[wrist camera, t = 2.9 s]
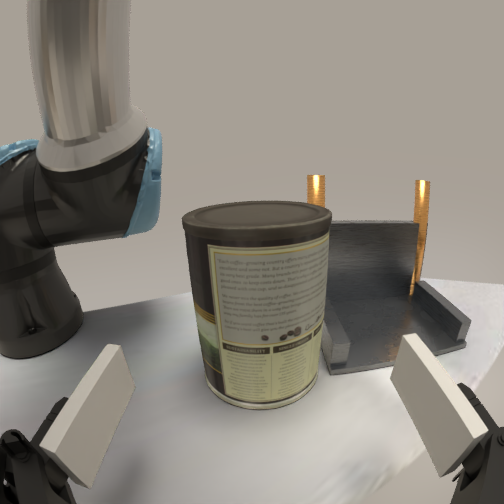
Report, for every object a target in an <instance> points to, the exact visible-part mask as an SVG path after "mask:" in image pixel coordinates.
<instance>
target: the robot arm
mask: <svg viewBox="0 0 504 504" xmlns="http://www.w3.org/2000/svg"><path fill="white" fill-rule="evenodd" d="M130 7H131V0H27V22H28V23H27V24H28V39H29V50H30V59H31V67H32V73H33V79H34V85H35V91H36V96H37V101H38V105H39V110H40V114H41V118H42V122H43V126H44V130H45V131H44V133H43V135H42V137H41V139H40V141H39V140H34V139H31V140H22V141H17V142H15V143H13V144H10V145H8V144H7V145H4V146H1V147H0V353H1V354H3V355H5V356H7V357H12V358H26V357H32V356H36V355H39V354H42V353H45V352H47V351H49V350H52V349H54V348H55V347H57V346H59V345H61V344H62V343H64V342H65V341H66V340H68V339H69V338H70V337H71V336H72V335H73V334H74V333H75V332H76V331H77V330H78V328H79V327H80V325H81V323H82V321H83V312H82V309H81V305H80V302H79V299H78V297H77V296H76V294H75V293H74V292H73V291H71V288H70V286H69V284H68V282H67V280H66V278H65V276H64V275H63V273H62V271H61V269H60V268H59V266H58V263H57V260H56V256H55V251H54V247H57V246H63V245H70V244H77V243H84V242H91V241H98V240H106V239H114V238H125V237H127V236H129V235H133V234H138V233H143V232H147V231H149V230H151V229H152V228H153V227H154V226H155V224H156V223H157V220H158V216H159V209H160V197H161V176H160V175H161V166H162V137H161V133H160V131H159V130H158V129H153V128H151V127H150V128H147V118H146V116H145V114H144V112H143V111H141V110H140V109H139V108H137V107H135V106H134V105H132V104H131V103H130V87H129V25H130ZM390 379H391V381H392V383H393V385H394V387H395V388H396V390H397V392H398V394H399V396H400V398H401V400H402V401H403V403H404V405H405V407H406V409H407V411H408V413H409V415H410V417H411V419H412V421H413V423H414V425H415V427H416V429H417V430H418V432H419V435H420V437H421V439H422V441H423V443H424V445H425V447H426V449H427V451H428V453H429V455H430V457H431V459H432V462H433V464H434V466H435V468H436V470H437V472H438V475H439V477H443V476H445V475H447V474H449V473H451V472H453V471H455V470H456V469H457V467H458V466H459V465H460V464H461V463H462V465H463V467H464V468H463V469H462V470H461V471H460V472H459V473H458V474H457V475H456V476H455V477H454V478H453V480H452V481H453V482H454V481H455V480H456V479H457V478H458V477H459V479H458V481H457V482H458V483H457V486H456V489H455V492H454V495H453V498H452V500H451V503H450V504H504V427H500V428H499V427H498V426H497V424H496V423H495V422H494V420H493V419H492V417H491V416H490V415H489V413H488V412H487V410H486V409H485V408H484V406H483V405H482V404H481V402H480V401H479V399H478V398H476V395H475V394H474V393H473V391H472V390H471V389H470V388H469V387H467V386H466V385H464V384H463V383H459V384H457V385H456V383H455V382H454V381H453V379H452V378H451V377H450V375H449V374H448V373H447V371H446V370H445V369H444V368H443V366H442V365H441V364H440V362H439V361H438V360H437V359H436V357H435V356H434V355H433V354H432V352H431V351H430V350H429V349H428V347H427V346H426V345H425V344H424V343H423V341H422V340H421V339H420V338H419V337H418V335H417V334H416V333H414V334H408V335H403V336H402V340H401V344H400V347H399V351H398V354H397V358H396V361H395V364H394V368H393V371H392V374H391V377H390ZM135 388H136V386H135V384H134V381H133V379H132V376H131V373H130V371H129V368H128V365H127V363H126V360H125V357H124V354H123V351H122V348H121V345H113V344H107V345H106V346H105V348H104V349H103V350H102V352H101V353H100V355H99V356H98V357H97V359H96V360H95V362H94V363H93V364H92V366H91V367H90V369H89V370H88V371H87V373H86V374H85V376H84V377H83V379H82V380H81V381H80V383H79V384H78V386H77V387H76V389H75V390H74V392H73V393H72V395H71V396H70V398H66V397H63V398H62V399H61V400H60V401H58V402H57V403H56V404H55V405H54V407H53V408H52V410H51V411H50V413H49V414H48V416H47V417H46V420H44V422H43V423H42V425H41V426H40V428H39V429H38V431H37V432H36V434H35V436H34V437H33V439H32V440H31V442H29V441H28V440H27V439H26V438H25V436H24V435H23V434H22V433H21V432H20V431H18V430H16V429H11V430H8V431H6V432H5V433H4V434H3V435H2V436H1V438H0V504H76V502H75V499H74V497H73V494H72V491H71V488H70V486H69V484H68V482H67V479H68V477H69V478H70V479H71V480H73V481H74V482H75V483H76V484H79V485H81V486H84V487H86V488H89V489H91V487H92V484H93V482H94V480H95V477H96V475H97V472H98V470H99V467H100V465H101V463H102V460H103V458H104V456H105V453H106V451H107V449H108V446H109V444H110V442H111V440H112V437H113V435H114V433H115V431H116V428H117V426H118V424H119V422H120V420H121V417H122V415H123V413H124V411H125V409H126V407H127V404H128V402H129V400H130V398H131V396H132V394H133V392H134V390H135ZM4 479H5V480H6V481H7V484H6V486H5V485H4Z"/></svg>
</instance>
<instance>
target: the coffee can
mask: <svg viewBox="0 0 504 504" xmlns="http://www.w3.org/2000/svg"><path fill="white" fill-rule="evenodd" d="M331 222H332V212H331V211H329V210H328V209H326V208H324V207H322V206H318V205H315V204H309V203H302V202H290V201H247V202H234V203H225V204H219V205H213V206H208V207H203V208H199V209H196V210H193V211H191V212H189V213H187V214H185V215H184V216H183V217H182V224H183V229H184V230H185V237H186V247H187V256H188V263H189V272H190V279H191V287H192V294H193V301H194V307H195V314H196V321H197V327H198V334H199V340H200V345H201V351H202V356H203V362H204V367H205V378H206V381H207V384H208V386H209V387H210V389H211V390H212V391H213V392H214V393H215V394H216V395H217V396H218V397H220V398H221V399H222V400H224V401H226V402H228V403H230V404H232V405H235V406H238V407H242V408H247V409H272V408H278V407H282V406H284V405H287V404H290V403H293V402H295V401H297V400H298V399H300V398H301V397H303V396H304V395H305V394H306V393H307V392H308V391H309V390H310V389H311V388H312V386H313V385H314V384H315V381H316V379H317V376H318V362H319V354H320V346H321V337H322V328H323V319H324V308H325V297H326V284H327V270H328V251H329V226H330V225H331Z"/></svg>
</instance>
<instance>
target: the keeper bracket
mask: <svg viewBox="0 0 504 504" xmlns="http://www.w3.org/2000/svg"><path fill="white" fill-rule="evenodd" d="M429 193H430V182H429V181H422V180H416V186H415V207H414V220H413V221H332V222H331V225H330V226H329V251H328V270H327V284H326V297H325V308H324V319H323V328H322V337H321V348H322V351H323V354H324V357H325V360H326V363H327V366H328V369H329V372H330V375H336V374H344V373H351V372H358V371H365V370H371V369H377V368H382V367H388V366H393V365H394V364H395V361H396V358H397V354H398V351H399V347H400V344H401V340H402V336H403V335H408V334H414V333H416V334H417V335H418V337H419V338H420V339H421V340H422V341H423V343H424V344H425V345H426V346H427V347H428V349H429V350H430V351H431V352H432V354H433V355H434V356H437V355H440V354H444V353H448V352H451V351H455V350H458V349H461V348H465V346H466V344H467V343H466V341H465V338H466V335H467V332H468V329H469V327H470V324H471V320H470V319H469V318H468V317H467V316H466V315H464V314H463V313H462V312H461V311H460V310H459V309H458V308H456V307H455V306H454V305H453V304H452V303H451V302H449V301H448V300H447V299H446V298H445V297H443V296H442V295H441V294H440V293H439V292H437V291H436V290H435V289H434V288H433V287H431V286H430V285H429V284H428V283H426V282H425V281H420V276H421V271H422V265H423V258H424V251H425V244H426V235H427V226H428V223H427V222H428V210H429ZM307 203H309V204H315V205H318V206H322V207H324V208H325V175H307Z"/></svg>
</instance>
